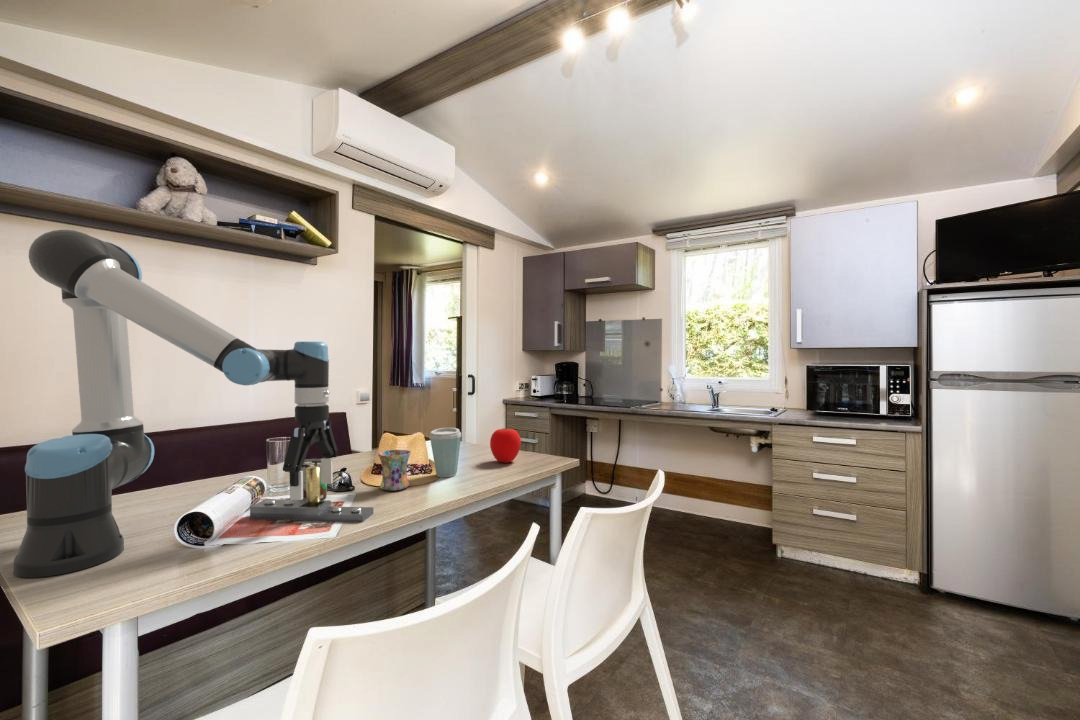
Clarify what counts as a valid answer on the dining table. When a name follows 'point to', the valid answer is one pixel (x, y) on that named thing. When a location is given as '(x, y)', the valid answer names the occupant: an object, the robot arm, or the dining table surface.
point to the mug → (394, 469)
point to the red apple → (505, 444)
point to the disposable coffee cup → (445, 450)
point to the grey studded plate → (307, 511)
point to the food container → (322, 486)
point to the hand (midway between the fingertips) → (312, 491)
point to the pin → (313, 486)
